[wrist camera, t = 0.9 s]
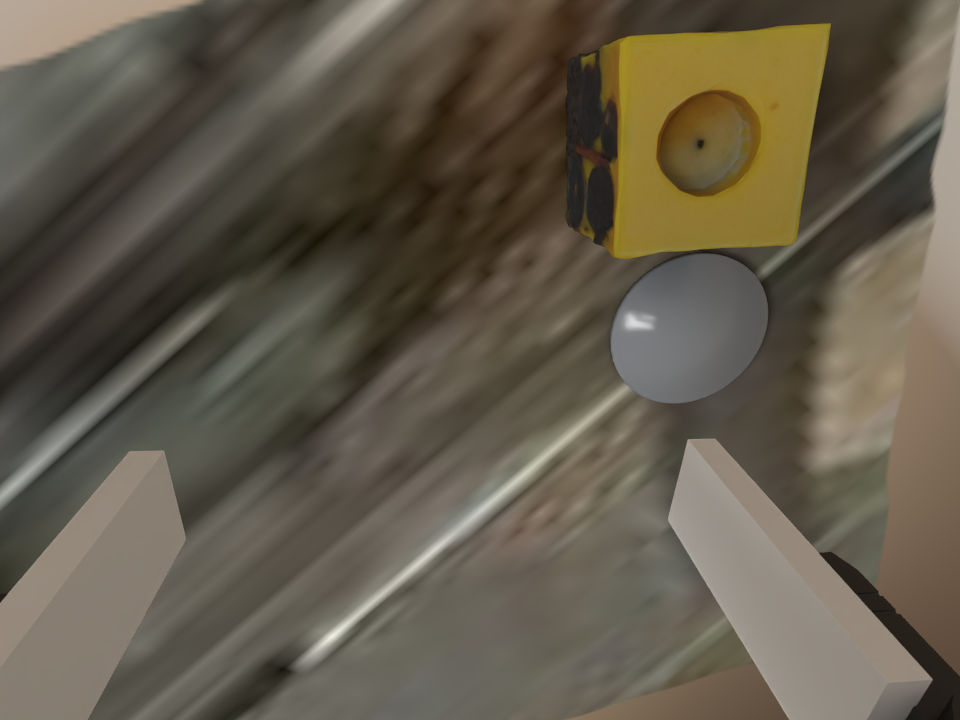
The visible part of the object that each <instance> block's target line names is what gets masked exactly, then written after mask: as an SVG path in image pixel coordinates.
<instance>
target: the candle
mask: <svg viewBox="0 0 960 720" xmlns="http://www.w3.org/2000/svg"><path fill="white" fill-rule="evenodd" d="M830 26H831V23H830V24H808V25H790V26H777V27H771V28H766V29H760V30H751V31H717V32H706V33H677V34H657V35H639V36H628V37H625V38H621V39H618V40H616V41H614V42H612V43H611V44H609V45H603V46H602V47H601V48H600V49H599V50H598V51H595V52H593V53H590V54H579V55H578V56H577V57H573V58H571V59H569V64H568V74H567V90H568V94H567V97H566V112H567V114H568V119H567V121H566V124H567V132H566V135H567V145H566V152H567V159H566V162H565V163H566V165H567V177H568V184H567V205H568V209H567V212H566V215H565V219H566V221H567V223H568V226H569V227H573V229H574V230H575V231H578V232H580V234H581V235H586V236H589V237H591V238H592V239H593V240H594V241H593V242H594V243H595V244H598V245H601V246H603V247H605V248H606V249H607V250H608V251H609V253H610V254H611V255H612V256H613V257H615V258H621V259H630V258H635V257H641V256H646V255H650V254H655V253H659V252H664V251H690V250H700V251H706V250H708V249H713V248H732V247H765V246H786V245H790V244H793V243H794V242H795V241H796V239H797V233H798V227H799V221H800V213H801V205H802V199H803V193H804V187H805V180H806V172H807V164H808V158H809V151H810V145H811V138H812V132H813V126H814V120H815V115H816V109H817V103H818V97H819V92H820V87H821V81H822V76H823V71H824V66H825V61H826V56H827V51H828V44H829V35H830Z"/></svg>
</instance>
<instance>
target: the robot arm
mask: <svg viewBox="0 0 960 720" xmlns="http://www.w3.org/2000/svg"><path fill="white" fill-rule="evenodd" d="M668 521H669V523H670V524H671V526H672V528H673V529H674V531H675V533H676V534H677V536H678V538H679V539H680V541H681V543H682V544H683V546H684V548H685V549H686V551H687V552H688V554H689V556H690V557H691V559H692V561H693V562H694V564H695V566H696V567H697V569H698V571H699V572H700V574H701V575H702V577H703V579H704V580H705V582H706V584H707V585H708V587H709V589H710V590H711V592H712V594H713V595H714V597H715V598H716V600H717V602H718V603H719V605H720V607H721V608H722V610H723V612H724V613H725V615H726V617H727V618H728V620H729V621H730V623H731V625H732V626H733V628H734V630H735V631H736V633H737V635H738V636H739V638H740V640H741V641H742V643H743V644H744V646H745V648H746V649H747V651H748V653H749V654H750V656H751V658H752V659H753V661H754V663H755V664H756V666H757V667H758V669H759V671H760V672H761V674H762V676H763V677H764V679H765V681H766V682H767V684H768V686H769V687H770V689H771V690H772V692H773V694H774V695H775V697H776V698H777V700H778V702H779V703H780V705H781V707H782V709H783V710H784V712H785V714H786V715H787V717H788V718H789V720H960V676H959V675H958V674H957V673H956V672H955V671H954V670H953V669H952V668H951V667H950V666H949V665H948V664H947V663H946V662H945V661H944V660H943V659H942V658H941V656H940V655H939V654H938V653H937V652H936V651H935V650H934V649H933V648H932V647H931V646H930V645H929V644H928V643H927V642H926V641H925V640H924V639H923V638H922V637H921V636H920V635H919V633H918V632H917V631H916V630H915V629H914V628H913V627H912V626H911V625H910V624H909V623H908V622H907V621H906V620H905V619H904V618H903V617H902V616H901V615H900V614H897V613H896V611H895V608H894V607H892V605H891V604H890V603H889V602H888V601H887V600H886V599H885V598H884V597H883V596H879V594H878V591H877V590H876V589H875V587H874V586H873V585H872V584H871V583H870V582H869V581H868V580H867V579H866V578H865V577H864V576H863V575H862V574H861V573H860V572H859V571H858V570H857V569H855V568H854V567H853V566H851V565H850V564H848V563H847V562H845V561H844V560H842V559H841V558H839V557H838V556H836V555H835V554H834V553H832V552H825V553H818V552H817V551H816V550H815V549H814V547H813V546H812V545H811V544H810V543H809V542H808V541H807V540H806V539H805V538H804V536H803V535H802V534H801V533H800V532H799V531H798V530H797V529H796V528H795V526H794V525H793V524H792V523H791V522H790V521H789V520H788V519H787V518H786V517H785V515H784V514H783V513H782V512H781V511H780V510H779V509H778V508H777V507H776V505H775V504H774V503H773V502H772V501H771V500H770V499H769V498H768V497H767V496H766V494H765V493H764V492H763V491H762V490H761V489H760V488H759V487H758V486H757V484H756V483H755V482H754V481H753V480H752V479H751V478H750V477H749V476H748V475H747V473H746V472H745V471H744V470H743V469H742V468H741V467H740V466H739V465H738V463H737V462H736V461H735V460H734V459H733V458H732V457H731V456H730V455H729V454H728V452H727V451H726V450H725V449H724V448H723V447H722V446H721V445H720V444H719V442H718V441H717V440H716V439H688V441H687V445H686V449H685V453H684V457H683V461H682V465H681V469H680V473H679V477H678V481H677V485H676V489H675V493H674V497H673V501H672V505H671V509H670V513H669V517H668ZM185 540H186V537H185V533H184V529H183V525H182V521H181V517H180V513H179V509H178V505H177V501H176V497H175V493H174V489H173V485H172V481H171V477H170V473H169V469H168V465H167V461H166V457H165V453H164V451H129V453H128V454H127V455H126V456H125V457H124V459H123V460H122V461H121V462H120V463H119V464H118V466H117V467H116V468H115V469H114V470H113V471H112V473H111V474H110V475H109V476H108V477H107V478H106V480H105V481H104V482H103V483H102V484H101V485H100V487H99V488H98V489H97V490H96V491H95V492H94V494H93V495H92V496H91V497H90V498H89V500H88V501H87V502H86V503H85V504H84V505H83V507H82V508H81V509H80V510H79V511H78V512H77V514H76V515H75V516H74V517H73V518H72V519H71V521H70V522H69V523H68V524H67V525H66V526H65V528H64V529H63V530H62V531H61V532H60V534H59V535H58V536H57V537H56V538H55V539H54V541H53V542H52V543H51V544H50V545H49V546H48V548H47V549H46V550H45V551H44V552H43V553H42V555H41V556H40V557H39V558H38V559H37V560H36V562H35V563H34V564H33V565H32V566H31V567H30V569H29V570H28V571H27V572H26V573H25V575H24V576H23V577H22V578H21V579H20V580H19V582H18V583H17V584H16V585H15V586H14V587H13V589H12V590H11V591H10V592H9V593H8V594H0V720H88V718H89V716H90V714H91V712H92V710H93V709H94V707H95V705H96V703H97V701H98V700H99V698H100V696H101V694H102V692H103V690H104V689H105V687H106V685H107V683H108V681H109V679H110V678H111V676H112V674H113V672H114V670H115V668H116V667H117V665H118V663H119V661H120V659H121V657H122V656H123V654H124V652H125V650H126V648H127V646H128V645H129V643H130V641H131V639H132V637H133V635H134V634H135V632H136V630H137V628H138V626H139V624H140V623H141V621H142V619H143V617H144V615H145V613H146V612H147V610H148V608H149V606H150V604H151V602H152V601H153V599H154V597H155V595H156V593H157V591H158V590H159V588H160V586H161V584H162V582H163V580H164V579H165V577H166V575H167V573H168V571H169V569H170V568H171V566H172V564H173V562H174V560H175V558H176V557H177V555H178V553H179V551H180V549H181V548H182V546H183V544H184V542H185Z"/></svg>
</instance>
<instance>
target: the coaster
mask: <svg viewBox="0 0 960 720" xmlns="http://www.w3.org/2000/svg"><path fill="white" fill-rule="evenodd" d="M767 322H768V304H767V298H766V295H765V292H764V289H763V287H762V285H761V283H760V281H759V280H758V278H757V277H756V276H755V275H754V273H753V272H752V271H750V270H749V269H748V268H747V267H746V266H744V265H743V264H741V263H740V262H738V261H736V260H734V259H731V258H729V257H727V256H724V255H720V254H716V253H706V252H701V253H690V254H684V255H681V256H677V257H674V258H671V259H669V260H667V261H665V262H662V263H661V264H659V265H657V266H655V267H654V268H652V269H651V270H649V271H648V272H647V273H645V274H644V275H643V276H642V277H641V278H640V279H639V280H638V281H636V282H635V283H634V285H633V286H632V287H631V288H630V289H629V290H628V292H627V293H626V295H625V296H624V298H623V299H622V301H621V302H620V304H619V306H618V308H617V310H616V313H615V315H614V318H613V321H612V325H611V330H610V352H611V357H612V361H613V363H614V366H615V368H616V370H617V372H618V374H619V375H620V376H621V378H622V379H623V380H624V381H625V383H626V384H627V385H628V386H629V387H630V388H631V389H632V390H634V391H635V392H636V393H638V394H639V395H641V396H643V397H645V398H647V399H650V400H653V401H657V402H663V403H685V402H690V401H695V400H698V399H701V398H704V397H707V396H709V395H711V394H713V393H715V392H717V391H719V390H721V389H722V388H724V387H725V386H727V385H728V384H730V383H731V382H732V381H733V380H735V379H736V378H737V377H738V376H739V375H740V374H741V373H742V372H743V371H744V370H745V369H746V368H747V366H748V365H749V364H750V363H751V361H752V360H753V358H754V357H755V355H756V354H757V352H758V350H759V348H760V346H761V344H762V341H763V338H764V336H765V332H766V328H767Z"/></svg>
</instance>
